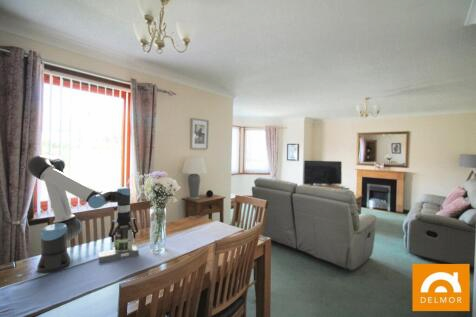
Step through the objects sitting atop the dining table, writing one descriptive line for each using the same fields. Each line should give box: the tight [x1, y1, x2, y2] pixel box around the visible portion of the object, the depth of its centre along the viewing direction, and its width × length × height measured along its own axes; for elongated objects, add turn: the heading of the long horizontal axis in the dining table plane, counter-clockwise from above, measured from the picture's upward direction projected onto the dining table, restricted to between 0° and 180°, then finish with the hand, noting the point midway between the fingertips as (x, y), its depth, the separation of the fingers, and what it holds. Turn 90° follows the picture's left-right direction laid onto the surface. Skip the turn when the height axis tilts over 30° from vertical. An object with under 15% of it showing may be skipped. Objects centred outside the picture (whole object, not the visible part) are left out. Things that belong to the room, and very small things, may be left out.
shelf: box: [98, 245, 140, 264], centre depth 152 cm, size 22×12×3 cm, turn 121°
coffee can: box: [114, 224, 134, 252], centre depth 154 cm, size 10×10×14 cm
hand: (123, 245), depth 154 cm, fingers closed on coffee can, 10 cm apart
